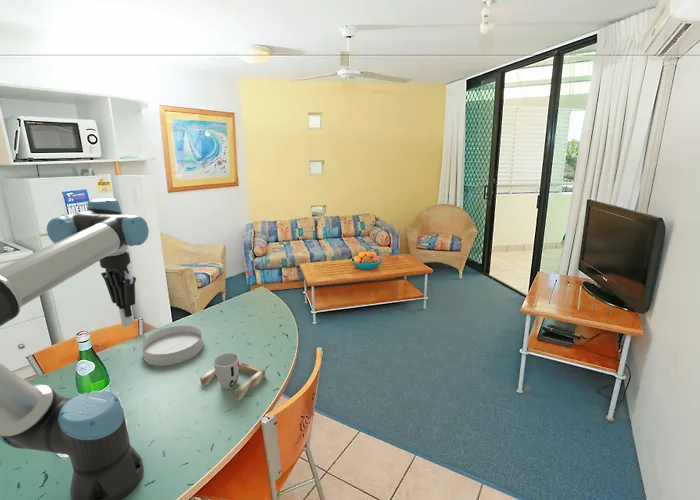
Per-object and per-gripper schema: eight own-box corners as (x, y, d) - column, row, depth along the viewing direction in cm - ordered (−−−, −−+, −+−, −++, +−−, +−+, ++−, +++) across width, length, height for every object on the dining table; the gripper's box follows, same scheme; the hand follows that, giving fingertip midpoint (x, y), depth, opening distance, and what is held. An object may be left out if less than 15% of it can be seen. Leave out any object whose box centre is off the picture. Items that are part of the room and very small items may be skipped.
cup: (233, 394, 123) (230, 368, 120) (211, 390, 124) (208, 364, 122) (245, 379, 130) (243, 354, 127) (224, 375, 132) (222, 351, 129)
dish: (166, 373, 134) (164, 361, 133) (131, 355, 145) (128, 344, 143) (215, 344, 152) (214, 333, 151) (180, 330, 163) (179, 320, 161)
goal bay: (238, 400, 120) (237, 392, 119) (201, 385, 127) (200, 377, 126) (265, 377, 131) (264, 369, 130) (229, 364, 139) (228, 357, 138)
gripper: (140, 251, 107) (153, 324, 114) (112, 246, 113) (126, 315, 120) (114, 259, 101) (129, 335, 108) (86, 252, 106) (103, 325, 113)
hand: (128, 325), depth 114 cm, fingers closed
